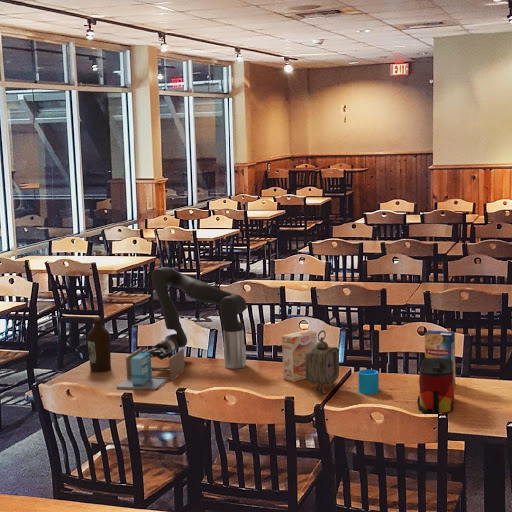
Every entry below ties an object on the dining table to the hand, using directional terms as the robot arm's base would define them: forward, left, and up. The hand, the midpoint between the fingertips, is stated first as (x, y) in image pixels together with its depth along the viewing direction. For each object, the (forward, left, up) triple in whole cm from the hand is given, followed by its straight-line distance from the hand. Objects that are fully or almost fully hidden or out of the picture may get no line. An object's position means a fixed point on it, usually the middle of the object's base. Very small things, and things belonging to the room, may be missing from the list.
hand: (151, 357), depth 389 cm
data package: (0, +12, -8) cm, 15 cm away
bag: (-125, +27, -9) cm, 129 cm away
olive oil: (+30, -10, -9) cm, 33 cm away
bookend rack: (0, -4, -9) cm, 10 cm away
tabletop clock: (-79, +12, -9) cm, 80 cm away
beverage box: (-126, -1, -9) cm, 126 cm away
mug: (-98, +10, -9) cm, 99 cm away
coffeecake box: (-66, -7, -9) cm, 67 cm away
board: (0, +13, -9) cm, 16 cm away
